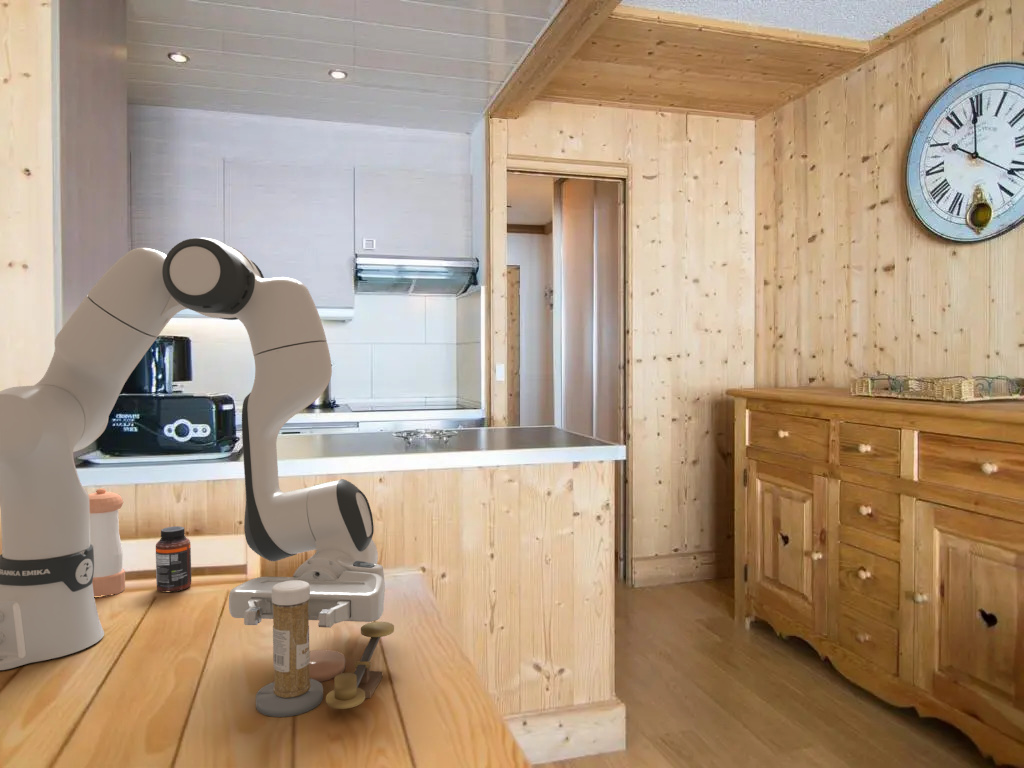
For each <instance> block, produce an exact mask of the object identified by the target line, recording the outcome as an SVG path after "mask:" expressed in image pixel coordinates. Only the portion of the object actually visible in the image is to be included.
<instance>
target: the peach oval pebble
mask: <svg viewBox="0 0 1024 768" xmlns="http://www.w3.org/2000/svg"><path fill="white" fill-rule="evenodd" d="M309 651H310V662H309V678H310V679H314V680H317V681H319V682H320V683H322V682H326V681H330V680H332V679H334V678H335V676H337V675H339V674H342V673H344V671H345V670H346V656H345V655H344V654H343V653H341V652H339V651H337V650H332V649H314V650H309Z"/></svg>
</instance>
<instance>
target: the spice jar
mask: <svg viewBox="0 0 1024 768" xmlns="http://www.w3.org/2000/svg"><path fill="white" fill-rule="evenodd" d="M309 598H310V585H309V583H307V582H305V581H299V580H293V581H285V582H281V583H278V584H276V585H274V586H273V587H272V602H273V617H274V618H273V619H272V620H273V621H272V623H273V625H272V652H273V653H272V654H273V658H272V660H273V669H274V671H273V676H274V677H273V679H274V681H273V682H274V688H273V692H274V694H275V695H277V696H279V697H283V698H290V697H297V696H300V695H302V694H304V693H306V692H307V691H308V690H309V689H310V686H311V685H310V680H309V662H310V651H311V650H310V624H309V621H310V620H308V602H309Z"/></svg>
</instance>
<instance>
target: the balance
mask: <svg viewBox="0 0 1024 768" xmlns="http://www.w3.org/2000/svg"><path fill="white" fill-rule="evenodd" d="M394 632H395V625H394V624H393V623H391V622H390V621H389V622H387V621H372V622H367V623H365V624H363V625H362V626H361V627H360V634H361V635H362V636H364V637H367V638H370V639H369V641H368V643H367V645H366V647H365V649H364V652H363V653H362V656H361V658H360V660H359V661H357V660H356V661H355V662H354V663H355V665H354V669H355V671H353V672H343V673H341V674H339V675H337V676H335V678H333V679H334V680H333V681H334V689H333V690H331V691H329V692H327V694H326V696H325V703H326V705H327V706H328V707H330V708H332V709H338V710H339V709H340V710H344V709H345V710H347V709H351V708H354V707H358V706H359V705H361V704H362V703H364V701H366V699H371V698H372V696H373V694H374V692H375V691H376V689H377V687H378V686H379V684H380V683H381V681H382V679H383V671H381V670H380V671H375V670H373V671H372V670H371V658H372V657H373V654H374V652H375V650H376V648H377V645H378V643H379V641H380V639H381V638H383V637H387V636H389V635H392V634H393V633H394Z"/></svg>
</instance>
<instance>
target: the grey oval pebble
mask: <svg viewBox="0 0 1024 768" xmlns="http://www.w3.org/2000/svg"><path fill="white" fill-rule="evenodd" d="M309 680H310V685H311V686H310V689H309V690H308V691H307V692H306V693H304V694H302V695H300V696H297V697H290V698H283V697H279V696H277V695H275V694H274V692H273V688H274V681H272V682H270V683H268V684H266V685H264V686H262V687H261V688H260V689H258V691H257V692H256V694H255V709H256V710H257V711H258V713H260V714H262V715H264V716H268V717H274V718H285V717H286V718H287V717H292V716H297V715H301V714H304V713H308V712H310V711H312V710H314V709H316V708H317V707H318V706H319V705H320V704H321V703H322V702H323V699H324V685H323V684H322V682H319V681H317V680H314V679H310V678H309Z"/></svg>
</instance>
